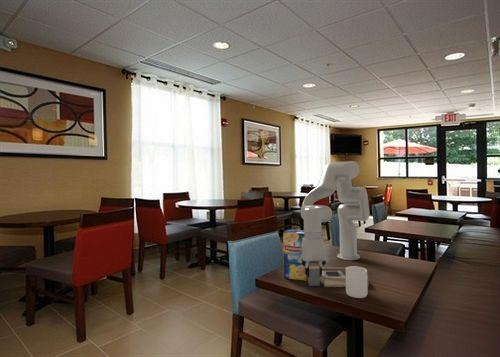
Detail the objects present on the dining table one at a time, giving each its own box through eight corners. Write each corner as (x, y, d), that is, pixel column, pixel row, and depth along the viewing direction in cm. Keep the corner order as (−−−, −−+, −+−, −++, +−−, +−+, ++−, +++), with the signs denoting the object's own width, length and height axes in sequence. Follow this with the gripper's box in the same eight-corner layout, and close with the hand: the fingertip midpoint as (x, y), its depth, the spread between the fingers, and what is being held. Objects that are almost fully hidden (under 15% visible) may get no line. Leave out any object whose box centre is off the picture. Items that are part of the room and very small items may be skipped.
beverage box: (306, 280, 137) (305, 233, 136) (283, 277, 141) (283, 232, 141) (309, 275, 143) (308, 230, 143) (287, 273, 147) (287, 229, 147)
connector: (307, 281, 134) (307, 260, 134) (317, 281, 134) (317, 259, 134) (309, 285, 129) (308, 263, 129) (320, 285, 129) (319, 263, 129)
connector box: (318, 275, 143) (318, 267, 143) (358, 275, 142) (357, 267, 142) (324, 287, 129) (324, 277, 129) (368, 286, 128) (368, 277, 128)
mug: (345, 286, 129) (345, 262, 129) (366, 288, 126) (365, 264, 126) (346, 297, 118) (345, 271, 117) (368, 299, 115) (367, 273, 115)
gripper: (329, 233, 134) (330, 272, 135) (292, 233, 135) (293, 273, 135) (334, 236, 127) (334, 278, 127) (294, 237, 127) (295, 279, 128)
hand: (313, 275), depth 131 cm, fingers closed on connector, 4 cm apart
